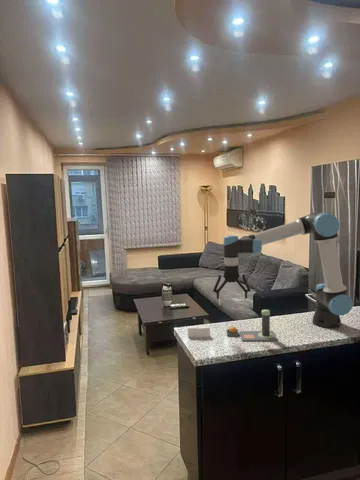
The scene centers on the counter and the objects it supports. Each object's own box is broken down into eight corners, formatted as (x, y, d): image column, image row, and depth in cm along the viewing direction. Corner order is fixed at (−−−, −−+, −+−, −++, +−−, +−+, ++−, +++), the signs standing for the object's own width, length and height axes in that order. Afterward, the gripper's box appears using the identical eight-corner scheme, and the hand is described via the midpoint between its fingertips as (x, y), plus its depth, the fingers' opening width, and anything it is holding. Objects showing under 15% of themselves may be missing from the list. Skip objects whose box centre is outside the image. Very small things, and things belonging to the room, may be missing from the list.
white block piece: (215, 335, 190) (215, 325, 189) (205, 342, 181) (205, 332, 180) (191, 330, 198) (190, 320, 197) (180, 337, 188) (180, 327, 188)
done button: (235, 331, 192) (235, 326, 192) (236, 333, 188) (236, 329, 188) (228, 331, 192) (228, 326, 192) (229, 333, 188) (229, 329, 188)
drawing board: (273, 332, 191) (273, 330, 191) (278, 341, 179) (278, 339, 179) (239, 332, 192) (239, 330, 192) (242, 341, 180) (242, 339, 180)
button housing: (237, 331, 193) (237, 329, 193) (238, 336, 187) (238, 333, 187) (226, 332, 193) (226, 329, 193) (227, 336, 187) (227, 333, 187)
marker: (269, 333, 187) (269, 309, 186) (270, 336, 183) (270, 311, 182) (261, 333, 187) (260, 309, 186) (262, 336, 183) (262, 312, 182)
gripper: (208, 266, 183) (209, 306, 186) (255, 265, 182) (256, 306, 184) (207, 264, 191) (208, 302, 193) (253, 263, 189) (253, 302, 192)
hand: (231, 304), depth 189 cm, fingers open, 12 cm apart
